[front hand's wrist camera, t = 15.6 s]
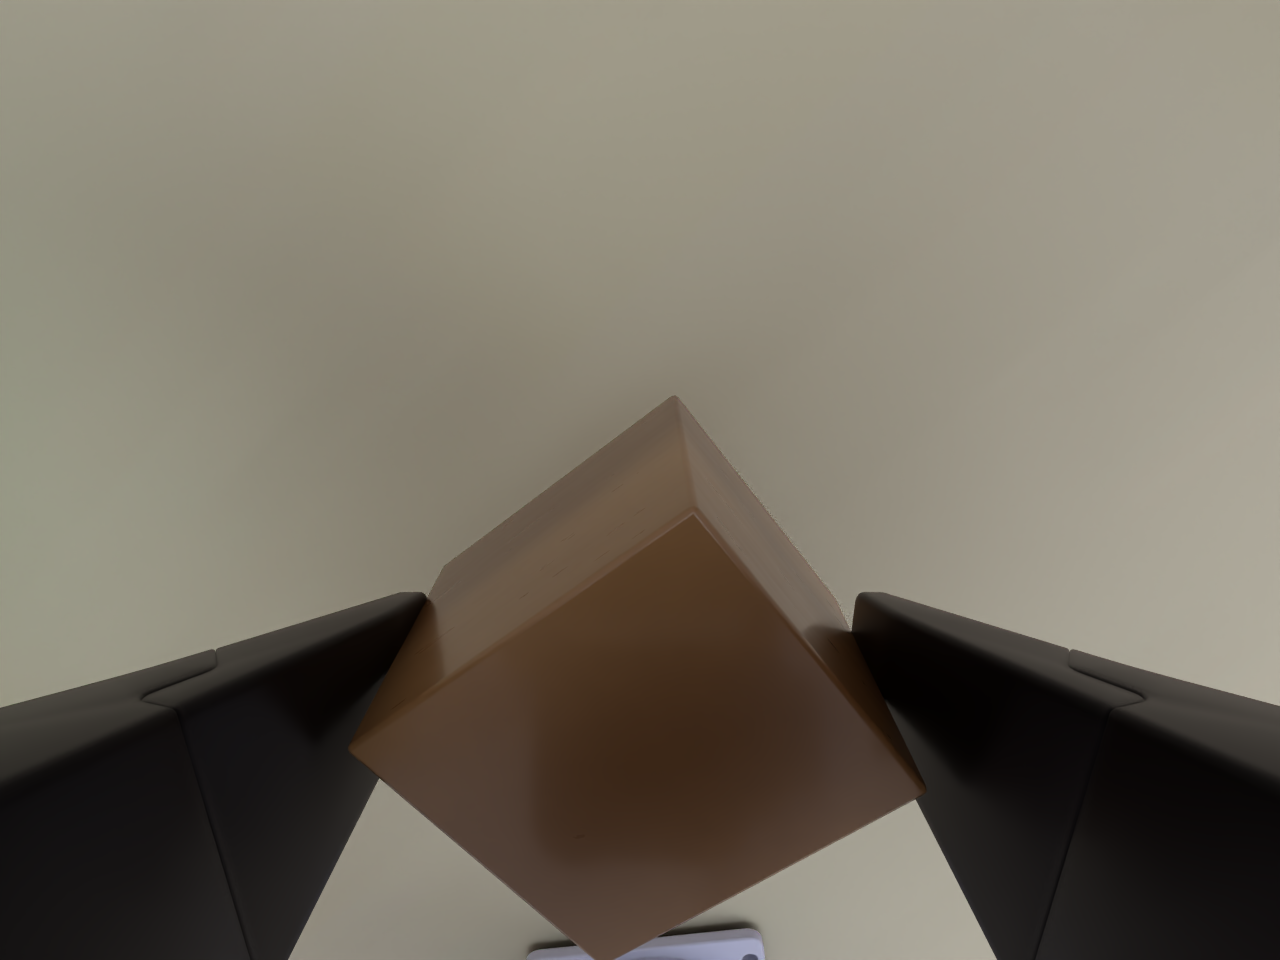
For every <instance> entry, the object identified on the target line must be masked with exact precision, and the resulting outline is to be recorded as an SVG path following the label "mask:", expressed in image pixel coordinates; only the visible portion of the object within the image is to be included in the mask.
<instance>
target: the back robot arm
mask: <svg viewBox="0 0 1280 960" xmlns="http://www.w3.org/2000/svg"><path fill="white" fill-rule="evenodd" d="M526 960H594V959H593V958H591V957H590V956H589V955H588V954H587V953H585V952H584V951H583V950H582V949H581V948H580V947H578V946H568V947H558V948H549V949H539V950H535V951H533V952H531V953H530V954H528V956H527V958H526ZM615 960H765V955H764V946H763V940H762V936H761V934H760V933H759V932H758V931H757V930H754V929H751V928H743V929H733V930H723V931H714V932H704V933H694V934H685V935H675V936H665V937H656V938H654V939H653V940H651V941H649V942H647V943H645V944H643V945H641V946H639V947H638V948H636V949H634V950H632V951H630V952H628V953H626V954H624V955H623V956H621V957H619V958H617V959H615Z"/></svg>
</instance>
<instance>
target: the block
mask: <svg viewBox="0 0 1280 960" xmlns="http://www.w3.org/2000/svg"><path fill="white" fill-rule="evenodd" d="M348 751H349V752H350V754H352V755H353V756H354V757H355V758H356V759H357V760H359V761H360V762H361V763H362V764H363V765H365V766H366V767H367V768H368V769H369V770H370V771H372V772H373V773H374V774H375V775H376V776H378V777H379V778H380V779H381V780H382V781H383V782H385V783H386V784H387V785H388V786H389V787H391V788H392V789H393V790H394V791H395V792H396V793H398V794H399V795H400V796H401V797H402V798H404V799H405V800H406V801H407V802H408V803H409V804H411V805H412V806H413V807H414V808H415V809H417V810H418V811H419V812H420V813H421V814H422V815H424V816H425V817H426V818H427V819H428V820H430V821H431V822H432V823H433V824H434V825H435V826H437V827H438V828H439V829H440V830H441V831H443V832H444V833H445V834H446V835H447V836H448V837H450V838H451V839H452V840H453V841H454V842H456V843H457V844H458V845H459V846H460V847H461V848H463V849H464V850H465V851H466V852H467V853H469V854H470V855H471V856H472V857H473V858H474V859H476V860H477V861H478V862H479V863H480V864H482V865H483V866H484V867H485V868H486V869H487V870H489V871H490V872H491V873H492V874H493V875H494V876H496V877H497V878H498V879H499V880H500V881H502V882H503V883H504V884H505V885H506V886H507V887H509V888H510V889H511V890H512V891H513V892H515V893H516V894H517V895H518V896H519V897H520V898H522V899H523V900H524V901H525V902H526V903H528V904H529V905H530V906H531V907H532V908H533V909H535V910H536V911H537V912H538V913H539V914H541V915H542V916H543V917H544V918H545V919H546V920H548V921H549V922H550V923H551V924H552V925H554V926H555V927H556V928H557V929H558V930H559V931H561V932H562V933H563V934H564V935H565V936H567V937H568V938H569V939H570V940H571V941H572V942H574V943H575V944H576V945H577V946H578V947H580V948H581V949H582V950H583V951H584V952H585V953H587V954H588V955H589V956H590V957H591V958H593V959H594V960H615V959H617V958H619V957H621V956H623V955H624V954H626V953H628V952H630V951H632V950H634V949H636V948H638V947H639V946H641V945H643V944H645V943H647V942H649V941H651V940H653V939H654V938H656V937H658V936H660V935H662V934H664V933H666V932H668V931H669V930H671V929H673V928H675V927H677V926H679V925H681V924H683V923H684V922H686V921H688V920H690V919H692V918H694V917H696V916H698V915H699V914H701V913H703V912H705V911H707V910H709V909H711V908H712V907H714V906H716V905H718V904H720V903H722V902H724V901H726V900H727V899H729V898H731V897H733V896H735V895H737V894H739V893H741V892H742V891H744V890H746V889H748V888H750V887H752V886H754V885H756V884H757V883H759V882H761V881H763V880H765V879H767V878H769V877H771V876H772V875H774V874H776V873H778V872H780V871H782V870H784V869H786V868H787V867H789V866H791V865H793V864H795V863H797V862H799V861H801V860H802V859H804V858H806V857H808V856H810V855H812V854H814V853H816V852H817V851H819V850H821V849H823V848H825V847H827V846H829V845H831V844H832V843H834V842H836V841H838V840H840V839H842V838H844V837H846V836H847V835H849V834H851V833H853V832H855V831H857V830H859V829H861V828H862V827H864V826H866V825H868V824H870V823H872V822H874V821H876V820H877V819H879V818H881V817H883V816H885V815H887V814H889V813H891V812H892V811H894V810H896V809H898V808H900V807H902V806H904V805H906V804H907V803H909V802H911V801H913V800H915V799H917V798H919V797H921V796H922V795H924V794H925V793H926V792H927V790H926V784H925V782H924V780H923V778H922V776H921V774H920V772H919V770H918V768H917V766H916V764H915V762H914V760H913V758H912V756H911V754H910V751H909V749H908V747H907V745H906V743H905V741H904V739H903V737H902V735H901V733H900V731H899V729H898V727H897V725H896V723H895V721H894V719H893V716H892V714H891V712H890V710H889V708H888V706H887V704H886V702H885V700H884V698H883V696H882V694H881V692H880V690H879V688H878V686H877V684H876V682H875V679H874V677H873V675H872V673H871V671H870V669H869V667H868V665H867V663H866V661H865V659H864V657H863V655H862V653H861V651H860V649H859V647H858V645H857V642H856V640H855V638H854V636H853V634H852V632H851V630H850V628H849V626H848V624H847V622H846V620H845V618H844V616H843V614H842V612H841V610H840V607H839V605H838V603H837V601H836V599H835V598H834V596H833V595H832V594H831V592H830V591H829V590H828V589H827V587H826V586H825V585H824V584H823V582H822V581H821V580H820V578H819V577H818V576H817V575H816V573H815V572H814V571H813V569H812V568H811V567H810V566H809V564H808V563H807V562H806V560H805V559H804V558H803V557H802V555H801V554H800V553H799V551H798V550H797V549H796V548H795V546H794V545H793V544H792V542H791V541H790V540H789V539H788V537H787V536H786V535H785V534H784V532H783V531H782V530H781V528H780V527H779V526H778V525H777V523H776V522H775V521H774V519H773V518H772V517H771V516H770V514H769V513H768V512H767V510H766V509H765V508H764V507H763V505H762V504H761V503H760V501H759V500H758V499H757V498H756V496H755V495H754V494H753V492H752V491H751V490H750V489H749V487H748V486H747V485H746V484H745V482H744V481H743V480H742V478H741V477H740V476H739V475H738V473H737V472H736V471H735V469H734V468H733V467H732V466H731V464H730V463H729V462H728V460H727V459H726V458H725V457H724V455H723V454H722V453H721V451H720V450H719V449H718V448H717V446H716V445H715V444H714V442H713V441H712V440H711V439H710V437H709V436H708V435H707V434H706V432H705V431H704V430H703V428H702V427H701V426H700V425H699V423H698V422H697V421H696V419H695V418H694V417H693V416H692V414H691V413H690V412H689V410H688V409H687V408H686V407H685V405H684V404H683V403H682V401H681V400H680V399H679V398H678V397H677V396H671V397H670V398H669V399H667V400H666V401H665V402H663V403H662V404H661V405H659V406H658V407H656V408H655V409H654V410H652V411H651V412H650V413H648V414H647V415H646V416H644V417H643V418H642V419H640V420H639V421H638V422H636V423H635V424H634V425H632V426H631V427H630V428H628V429H627V430H626V431H624V432H623V433H622V434H620V435H619V436H618V437H616V438H615V439H614V440H612V441H611V442H610V443H608V444H607V445H606V446H604V447H603V448H602V449H600V450H599V451H598V452H596V453H595V454H594V455H592V456H591V457H590V458H588V459H587V460H586V461H584V462H583V463H582V464H580V465H579V466H578V467H576V468H575V469H574V470H572V471H571V472H570V473H568V474H567V475H566V476H564V477H563V478H561V479H560V480H559V481H557V482H556V483H555V484H553V485H552V486H551V487H549V488H548V489H547V490H545V491H544V492H543V493H541V494H540V495H539V496H537V497H536V498H535V499H533V500H532V501H531V502H529V503H528V504H527V505H525V506H524V507H523V508H521V509H520V510H519V511H517V512H516V513H515V514H513V515H512V516H511V517H509V518H508V519H507V520H505V521H504V522H503V523H501V524H500V525H499V526H497V527H496V528H495V529H493V530H492V531H491V532H489V533H488V534H487V535H485V536H484V537H483V538H481V539H480V540H479V541H477V542H476V543H475V544H473V545H472V546H471V547H469V548H468V549H466V550H465V551H464V552H462V553H461V554H460V555H458V556H457V557H456V558H454V559H453V560H452V561H450V562H449V563H448V564H446V565H445V566H444V567H443V569H442V571H441V573H440V575H439V577H438V578H437V580H436V582H435V584H434V586H433V588H432V590H431V592H430V593H429V595H428V597H427V600H426V602H425V603H424V605H423V607H422V609H421V611H420V613H419V615H418V617H417V619H416V620H415V622H414V624H413V626H412V628H411V630H410V632H409V634H408V635H407V637H406V639H405V641H404V643H403V645H402V647H401V648H400V650H399V652H398V654H397V656H396V657H395V659H394V661H393V663H392V665H391V667H390V669H389V671H388V673H387V674H386V676H385V678H384V680H383V682H382V684H381V686H380V688H379V689H378V691H377V693H376V695H375V697H374V699H373V701H372V703H371V704H370V706H369V708H368V710H367V712H366V714H365V716H364V718H363V720H362V721H361V723H360V725H359V727H358V729H357V731H356V733H355V735H354V736H353V738H352V740H351V742H350V744H349V746H348Z"/></svg>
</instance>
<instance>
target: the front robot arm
mask: <svg viewBox="0 0 1280 960" xmlns="http://www.w3.org/2000/svg"><path fill="white" fill-rule="evenodd" d="M426 600H427V597H426V595H425V594H424V593H422V592H402V593H397V594H394V595H390V596H387V597H384V598H381V599H377V600H374V601H371V602H367V603H364V604H361V605H358V606H354V607H351V608H348V609H345V610H341V611H338V612H335V613H332V614H328V615H325V616H322V617H318V618H315V619H312V620H309V621H305V622H302V623H299V624H296V625H292V626H289V627H286V628H283V629H279V630H276V631H273V632H269V633H266V634H263V635H260V636H256V637H253V638H250V639H247V640H243V641H240V642H237V643H234V644H230V645H227V646H224V647H220V648H218V649H217V650H216V652H215V650H213V649H211V650H208V651H204V652H201V653H198V654H194V655H191V656H188V657H184V658H181V659H177V660H174V661H171V662H167V663H164V664H160V665H157V666H154V667H150V668H147V669H143V670H139V671H136V672H132V673H129V674H125V675H121V676H118V677H114V678H111V679H107V680H103V681H99V682H96V683H92V684H88V685H84V686H81V687H77V688H73V689H69V690H66V691H62V692H58V693H54V694H51V695H47V696H43V697H39V698H36V699H32V700H28V701H24V702H20V703H17V704H13V705H9V706H5V707H2V708H0V960H288V959H289V957H290V955H291V953H292V951H293V949H294V947H295V945H296V943H297V941H298V939H299V937H300V935H301V933H302V931H303V929H304V927H305V925H306V923H307V921H308V919H309V917H310V915H311V913H312V911H313V909H314V907H315V905H316V903H317V901H318V899H319V897H320V895H321V893H322V891H323V889H324V887H325V885H326V883H327V881H328V879H329V877H330V875H331V873H332V871H333V869H334V867H335V865H336V863H337V861H338V859H339V857H340V855H341V853H342V851H343V849H344V847H345V845H346V843H347V841H348V839H349V837H350V835H351V833H352V831H353V829H354V827H355V825H356V823H357V821H358V819H359V817H360V815H361V813H362V811H363V809H364V807H365V805H366V803H367V801H368V799H369V797H370V795H371V793H372V791H373V789H374V787H375V785H376V783H377V781H378V779H379V777H378V776H376V775H375V774H374V773H373V772H372V771H370V770H369V769H368V768H367V767H366V766H365V765H363V764H362V763H361V762H360V761H359V760H357V759H356V758H355V757H354V756H353V755H352V754H350V752H349V751H348V746H349V744H350V742H351V740H352V738H353V736H354V735H355V733H356V731H357V729H358V727H359V725H360V723H361V721H362V720H363V718H364V716H365V714H366V712H367V710H368V708H369V706H370V704H371V703H372V701H373V699H374V697H375V695H376V693H377V691H378V689H379V688H380V686H381V684H382V682H383V680H384V678H385V676H386V674H387V673H388V671H389V669H390V667H391V665H392V663H393V661H394V659H395V657H396V656H397V654H398V652H399V650H400V648H401V647H402V645H403V643H404V641H405V639H406V637H407V635H408V634H409V632H410V630H411V628H412V626H413V624H414V622H415V620H416V619H417V617H418V615H419V613H420V611H421V609H422V607H423V605H424V603H425V602H426ZM852 634H853V636H854V638H855V640H856V642H857V645H858V647H859V649H860V651H861V653H862V655H863V657H864V659H865V661H866V663H867V665H868V667H869V669H870V671H871V673H872V675H873V677H874V679H875V682H876V684H877V686H878V688H879V690H880V692H881V694H882V696H883V698H884V700H885V702H886V704H887V706H888V708H889V710H890V712H891V714H892V716H893V719H894V721H895V723H896V725H897V727H898V729H899V731H900V733H901V735H902V737H903V739H904V741H905V743H906V745H907V747H908V749H909V751H910V754H911V756H912V758H913V760H914V762H915V764H916V766H917V768H918V770H919V772H920V774H921V776H922V778H923V780H924V782H925V784H926V790H927V792H926V793H925V794H924V795H922V796H921V797H919V798H917V799H916V801H917V803H918V805H919V807H920V809H921V811H922V813H923V815H924V817H925V819H926V821H927V822H928V824H929V826H930V828H931V830H932V832H933V834H934V836H935V838H936V840H937V842H938V844H939V846H940V848H941V850H942V852H943V854H944V856H945V858H946V860H947V862H948V864H949V866H950V868H951V870H952V872H953V874H954V876H955V878H956V880H957V882H958V884H959V886H960V888H961V889H962V891H963V893H964V895H965V897H966V899H967V901H968V903H969V905H970V907H971V909H972V911H973V913H974V915H975V917H976V919H977V921H978V923H979V925H980V927H981V929H982V931H983V933H984V935H985V937H986V939H987V941H988V943H989V945H990V947H991V949H992V951H993V953H994V954H995V956H996V958H997V960H1280V706H1277V705H1273V704H1270V703H1266V702H1262V701H1258V700H1255V699H1251V698H1247V697H1243V696H1239V695H1236V694H1232V693H1228V692H1224V691H1220V690H1217V689H1213V688H1209V687H1205V686H1202V685H1198V684H1194V683H1190V682H1186V681H1183V680H1179V679H1175V678H1172V677H1168V676H1164V675H1161V674H1157V673H1153V672H1150V671H1146V670H1143V669H1139V668H1135V667H1132V666H1128V665H1125V664H1121V663H1118V662H1115V661H1111V660H1108V659H1104V658H1101V657H1097V656H1094V655H1091V654H1087V653H1084V652H1081V651H1078V650H1074V649H1072V650H1070V652H1069V650H1068V649H1067V648H1064V647H1061V646H1058V645H1055V644H1051V643H1048V642H1045V641H1041V640H1038V639H1035V638H1032V637H1028V636H1025V635H1022V634H1018V633H1015V632H1012V631H1008V630H1005V629H1002V628H999V627H995V626H992V625H989V624H985V623H982V622H979V621H976V620H972V619H969V618H966V617H962V616H959V615H956V614H953V613H949V612H946V611H943V610H939V609H936V608H933V607H929V606H926V605H923V604H920V603H916V602H913V601H910V600H906V599H903V598H900V597H897V596H893V595H890V594H887V593H881V592H862V593H860V594H858V596H857V598H856V601H855V609H854V616H853V624H852Z"/></svg>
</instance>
